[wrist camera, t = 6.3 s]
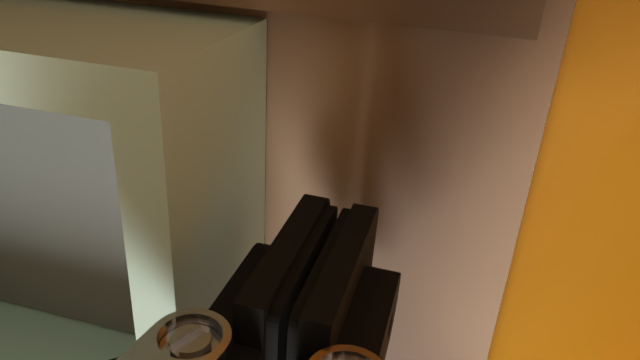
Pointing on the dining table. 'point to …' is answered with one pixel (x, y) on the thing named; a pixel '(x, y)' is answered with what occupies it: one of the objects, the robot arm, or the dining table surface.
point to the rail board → (412, 140)
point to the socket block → (123, 168)
